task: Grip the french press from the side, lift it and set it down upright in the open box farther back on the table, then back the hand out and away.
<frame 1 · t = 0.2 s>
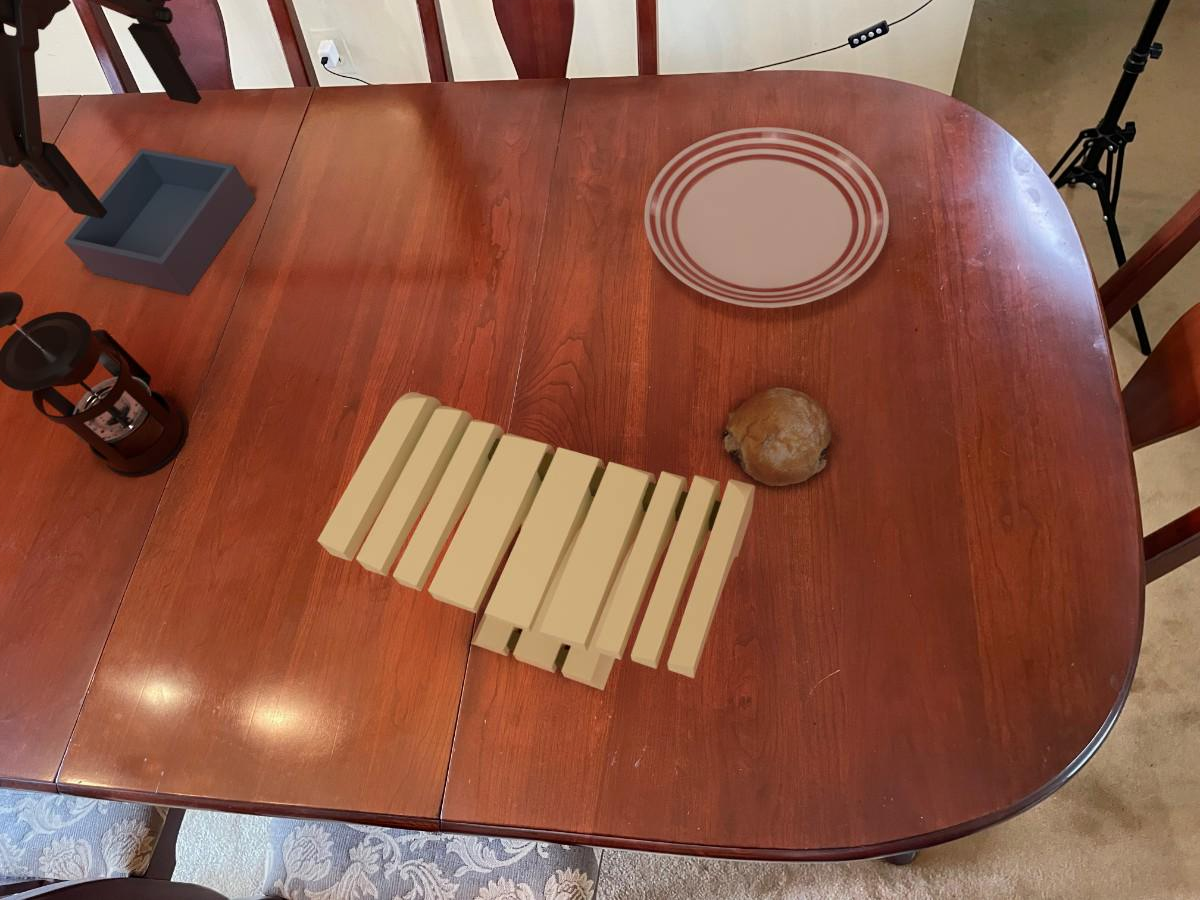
hand: (140, 153, 69), 31 cm above the table, tool pointing down, fingers open, 13 cm apart
bread roll: (775, 446, 85), on the table
open box: (176, 236, 109), on the table
french press: (148, 437, 94), on the table
slatted curved stool: (568, 587, 80), on the table
dinner plate: (762, 230, 99), on the table
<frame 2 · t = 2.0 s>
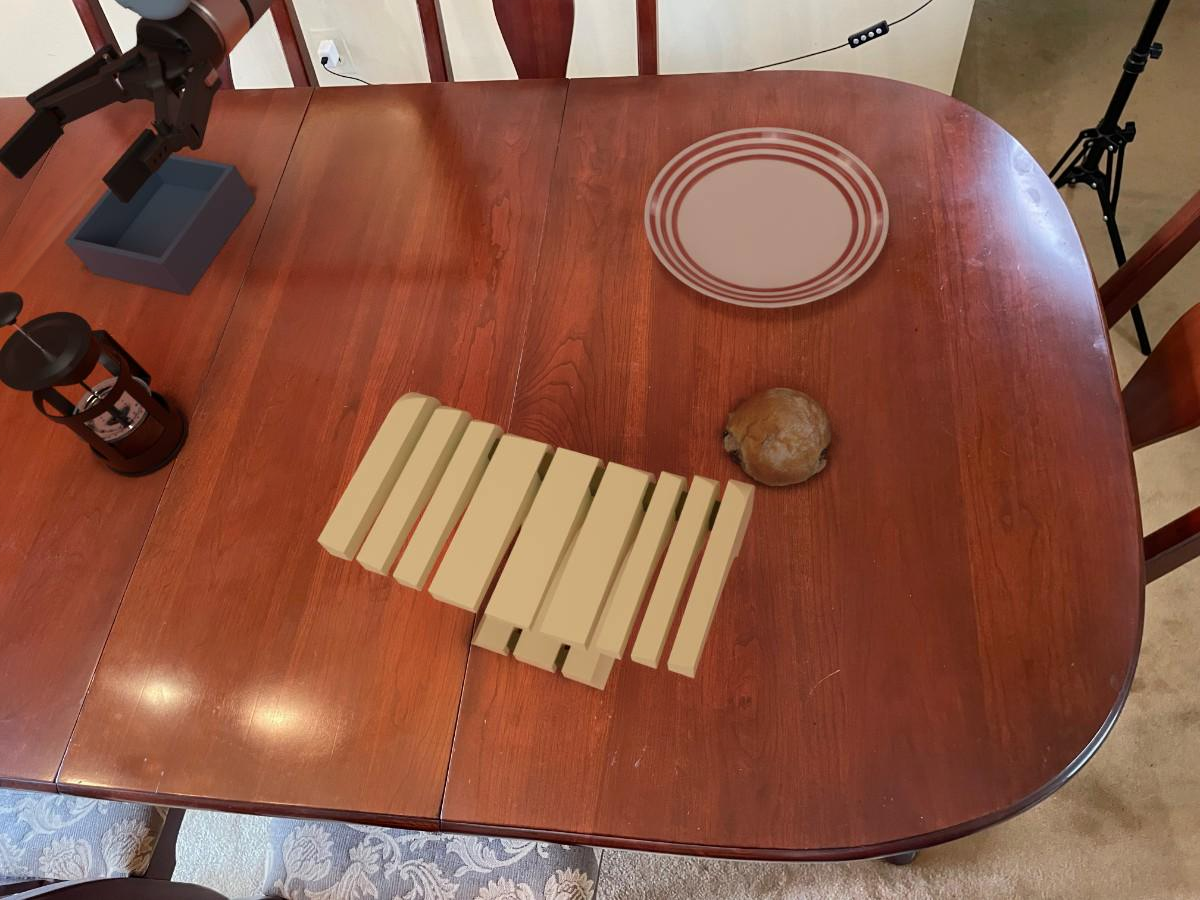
hand: (59, 179, 77), 26 cm above the table, tool horizontal, fingers open, 13 cm apart
nothing on the table moved.
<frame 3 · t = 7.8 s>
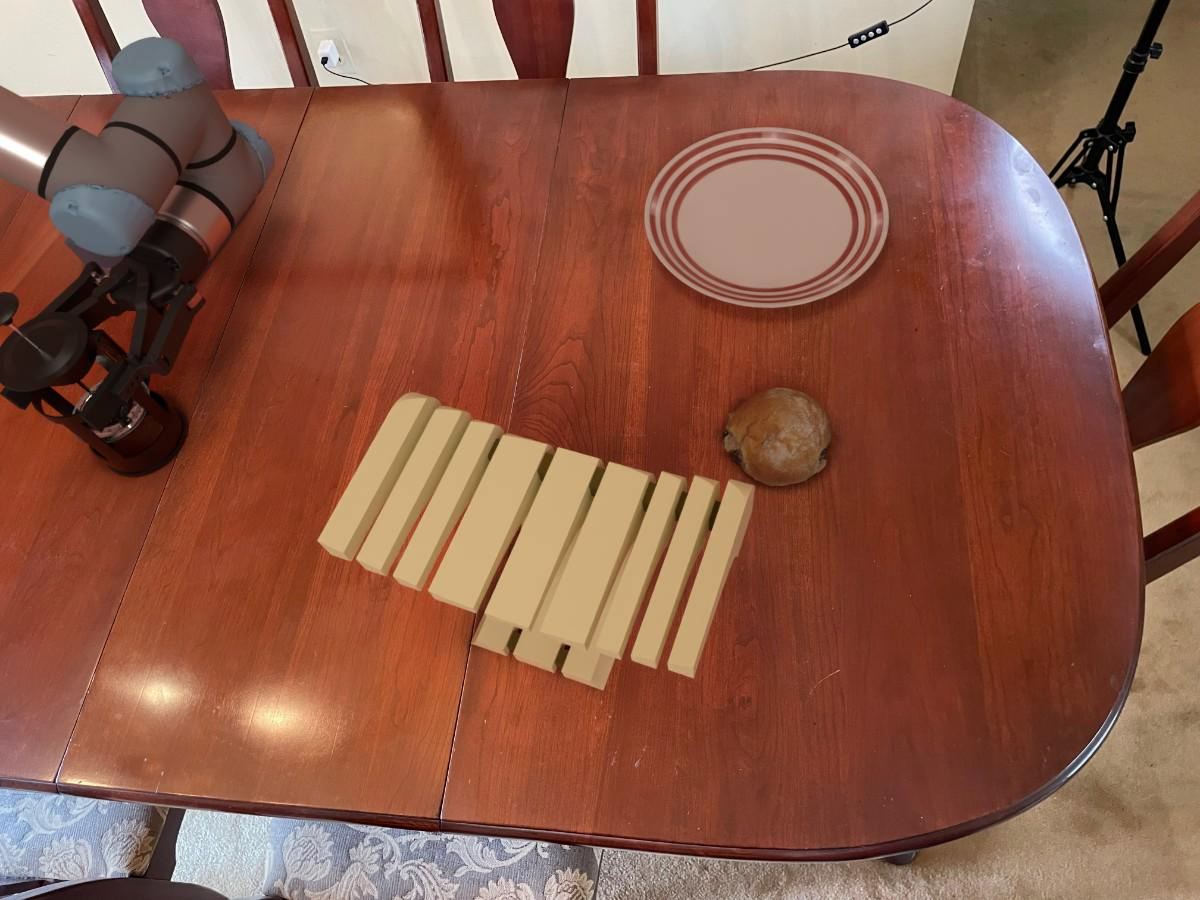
hand: (50, 412, 81), 12 cm above the table, tool horizontal, fingers closed on french press, 9 cm apart
french press: (148, 436, 94), on the table, touching gripper
everything else where it was.
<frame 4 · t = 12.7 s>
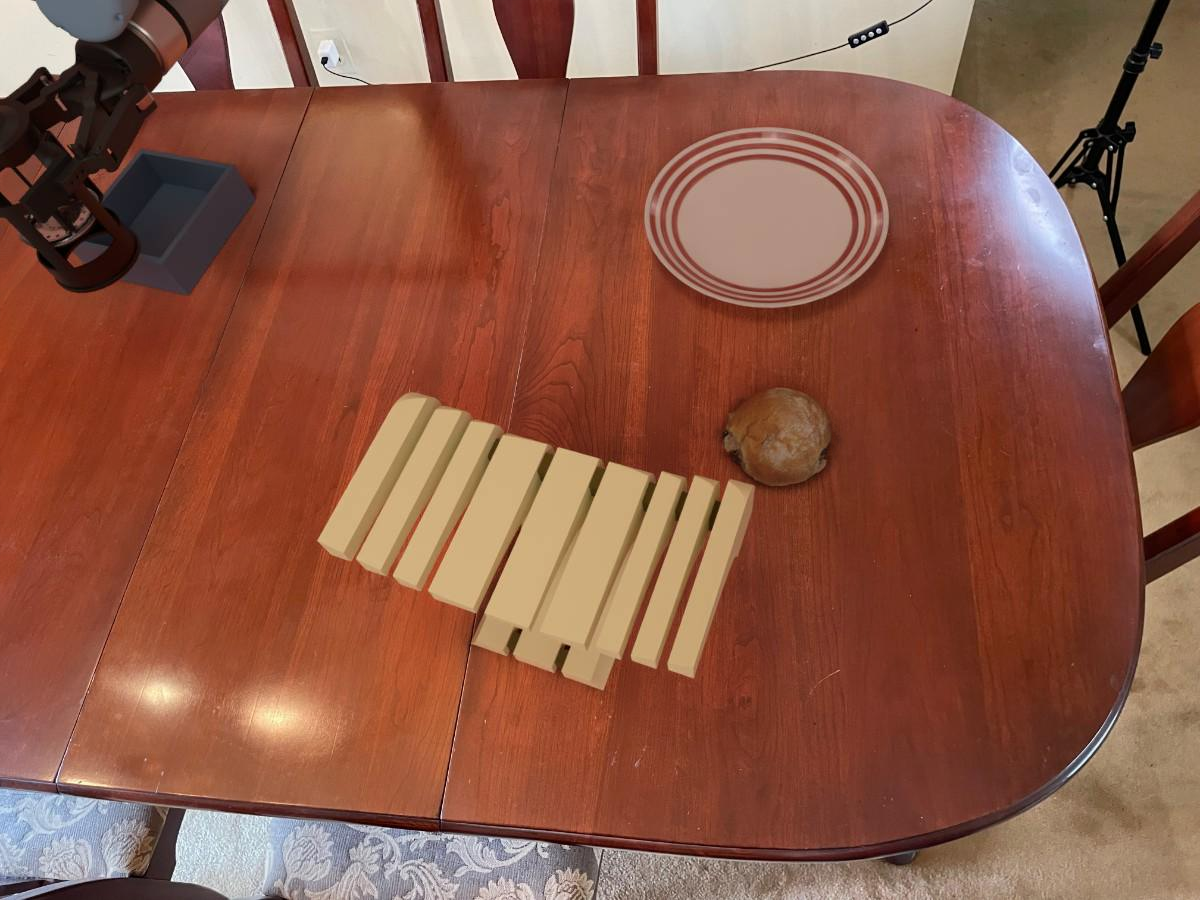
french press: (100, 257, 91), point 12 cm above the table, touching gripper
everything else where it was.
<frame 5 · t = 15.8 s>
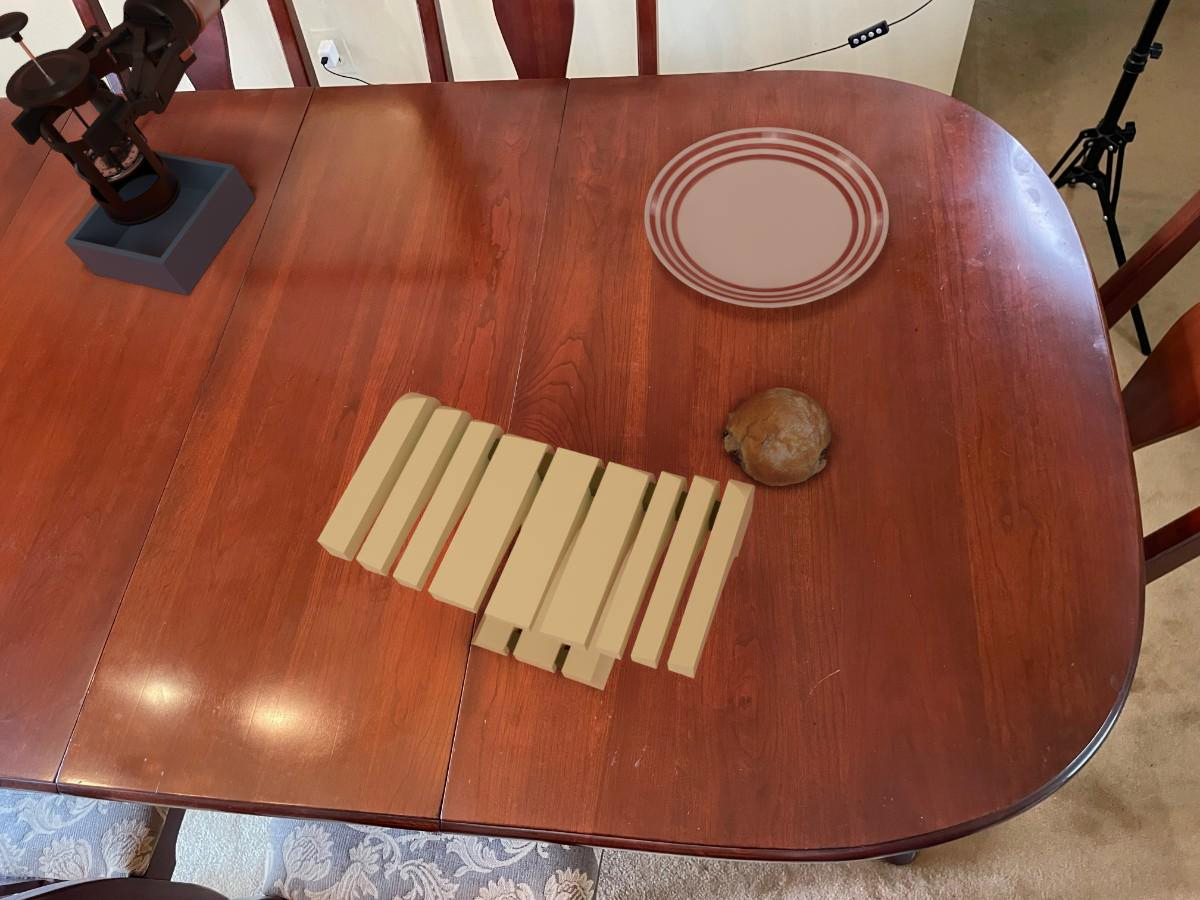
hand: (56, 140, 90), 19 cm above the table, tool horizontal, fingers closed on french press, 9 cm apart
french press: (145, 195, 103), point 7 cm above the table, touching gripper
everything else where it was.
when the fingers open (13 cm above the table, at t = 18.0 s): french press stays where it is, resting on open box.
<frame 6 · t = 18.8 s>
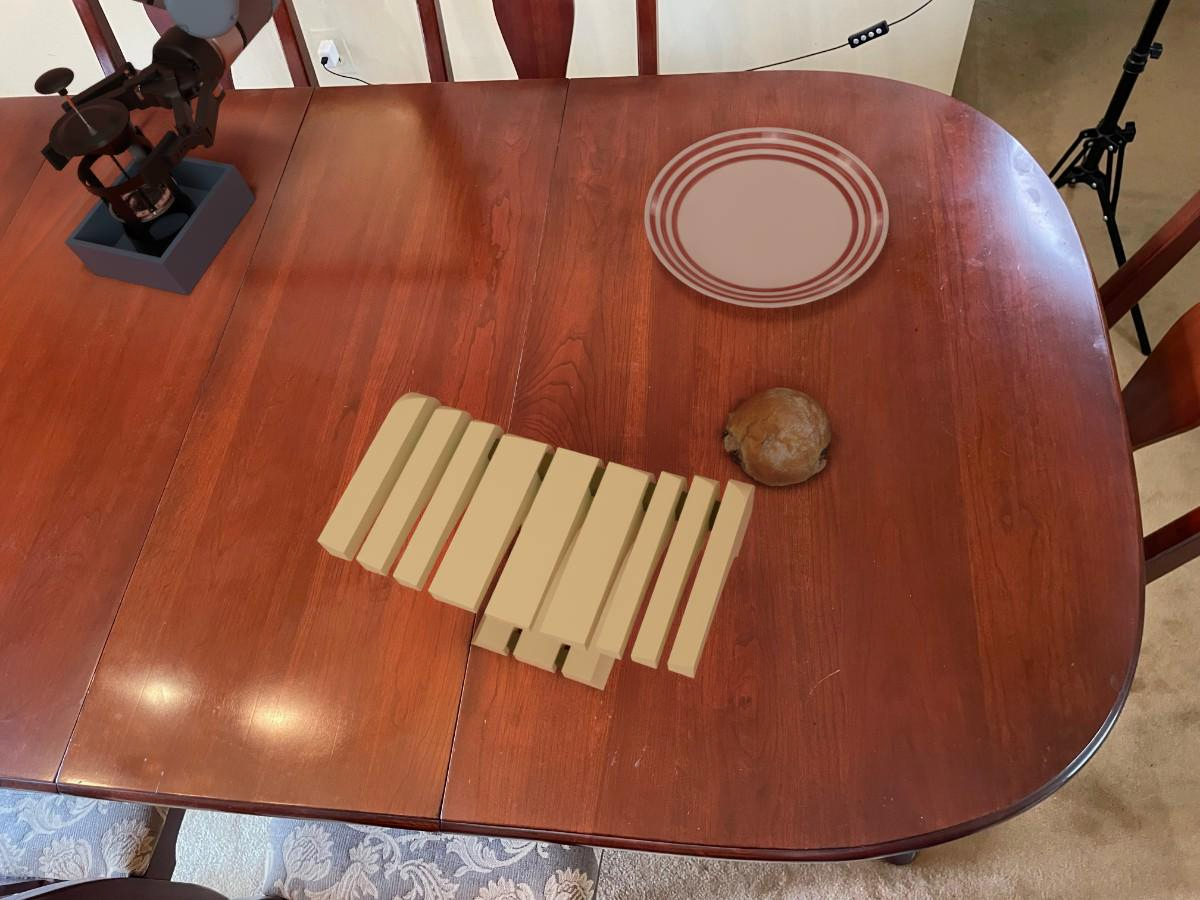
hand: (97, 171, 96), 14 cm above the table, tool horizontal, fingers open, 13 cm apart
french press: (173, 232, 108), point 1 cm above the table, touching open box
everything else where it was.
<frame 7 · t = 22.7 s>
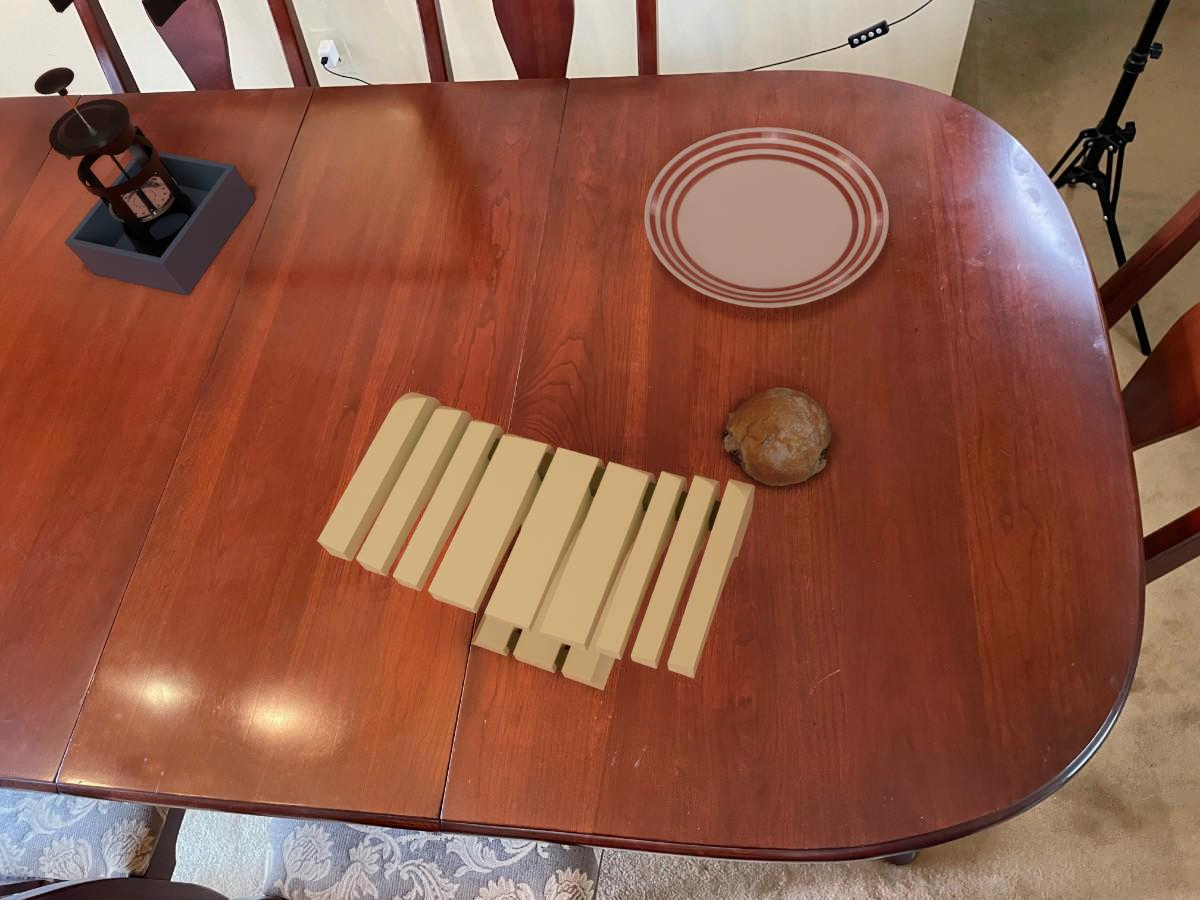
hand: (100, 8, 92), 25 cm above the table, tool horizontal, fingers open, 13 cm apart
nothing on the table moved.
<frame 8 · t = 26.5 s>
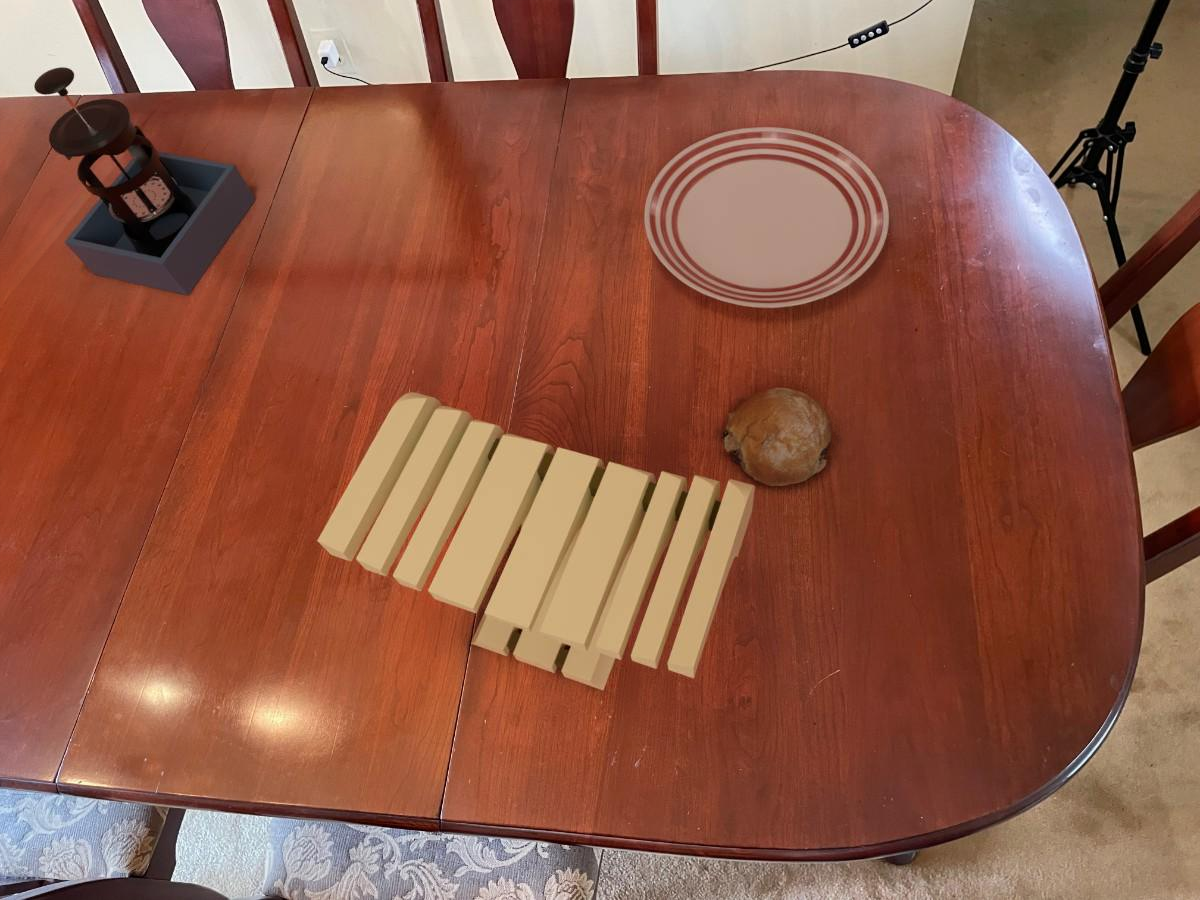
nothing on the table moved.
at the end: french press inside the target area in the open box (0.0 cm from its centre), point 0.6 cm above the open box's base; french press tilted 0°; the gripper is holding nothing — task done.
